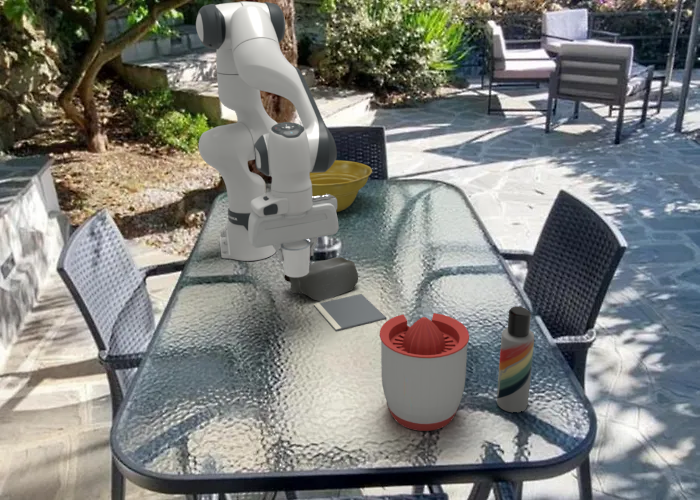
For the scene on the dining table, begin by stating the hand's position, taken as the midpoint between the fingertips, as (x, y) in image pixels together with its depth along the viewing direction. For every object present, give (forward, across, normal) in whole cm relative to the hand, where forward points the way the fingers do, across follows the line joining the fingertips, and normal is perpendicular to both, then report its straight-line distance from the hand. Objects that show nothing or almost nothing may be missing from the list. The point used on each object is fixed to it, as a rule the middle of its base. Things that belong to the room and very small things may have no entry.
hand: (295, 257), depth 144 cm
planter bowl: (+18, -36, -76) cm, 87 cm away
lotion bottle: (+17, -26, +47) cm, 56 cm away
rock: (+17, -11, -15) cm, 25 cm away
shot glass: (+4, 0, 0) cm, 4 cm away
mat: (+17, -13, 0) cm, 21 cm away
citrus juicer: (+17, -10, +41) cm, 46 cm away
